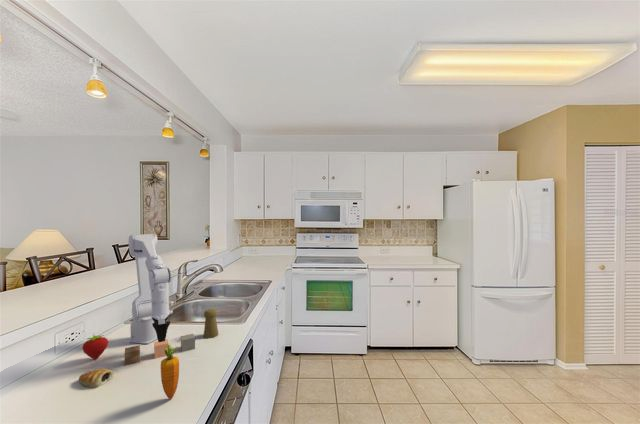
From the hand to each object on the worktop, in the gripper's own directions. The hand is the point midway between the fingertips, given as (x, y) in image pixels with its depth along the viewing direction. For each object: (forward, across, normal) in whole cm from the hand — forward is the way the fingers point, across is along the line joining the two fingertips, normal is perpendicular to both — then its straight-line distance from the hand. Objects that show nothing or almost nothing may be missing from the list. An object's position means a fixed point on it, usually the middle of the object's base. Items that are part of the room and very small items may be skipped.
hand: (161, 337), depth 110 cm
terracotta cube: (+6, 0, 0) cm, 6 cm away
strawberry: (+6, +9, +20) cm, 23 cm away
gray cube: (+6, 0, -9) cm, 11 cm away
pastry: (+7, -9, +19) cm, 22 cm away
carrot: (+7, -32, -1) cm, 32 cm away
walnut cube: (+6, 0, +9) cm, 11 cm away
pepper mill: (+6, +8, -19) cm, 22 cm away
